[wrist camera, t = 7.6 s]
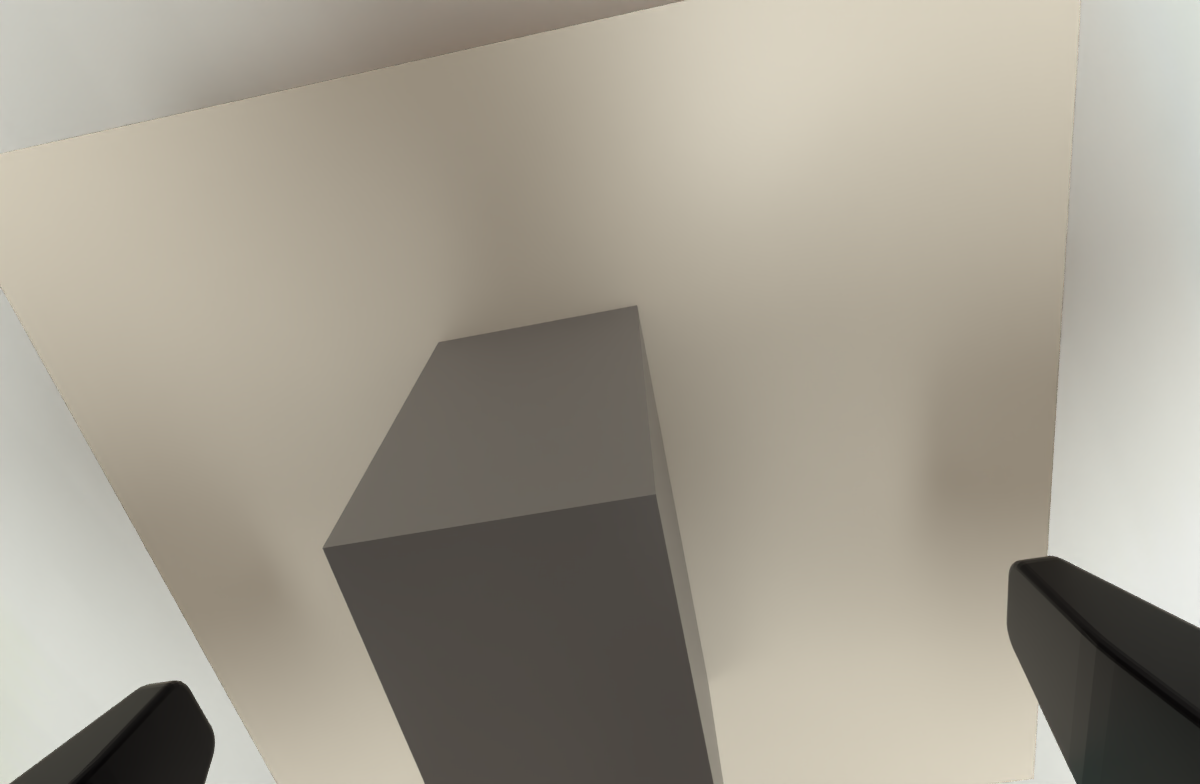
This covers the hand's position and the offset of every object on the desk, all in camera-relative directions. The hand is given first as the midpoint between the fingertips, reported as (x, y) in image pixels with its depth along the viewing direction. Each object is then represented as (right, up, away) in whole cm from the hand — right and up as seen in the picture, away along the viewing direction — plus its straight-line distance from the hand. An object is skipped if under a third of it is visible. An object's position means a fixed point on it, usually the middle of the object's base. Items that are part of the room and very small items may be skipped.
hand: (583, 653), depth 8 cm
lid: (0, +1, +2) cm, 3 cm away
